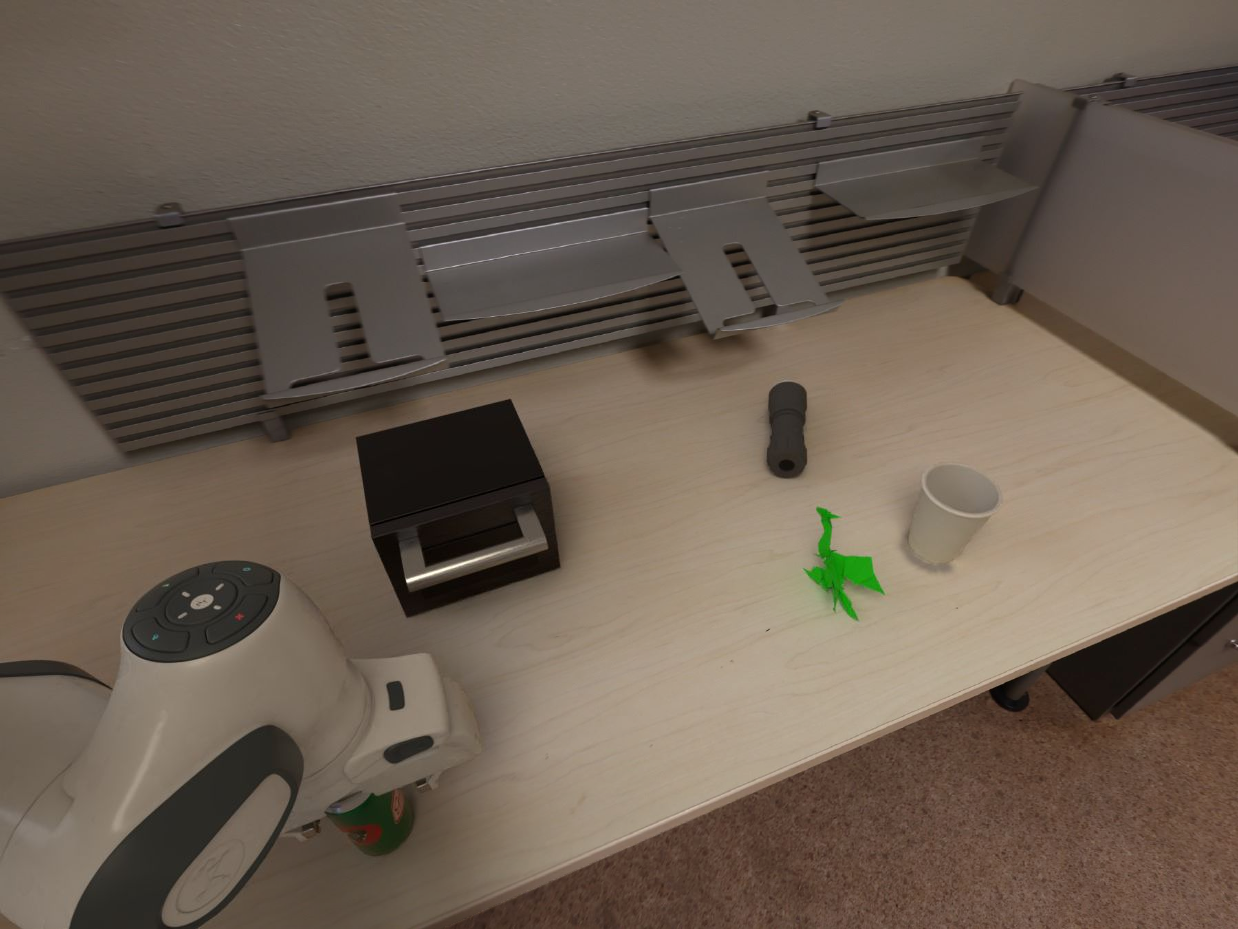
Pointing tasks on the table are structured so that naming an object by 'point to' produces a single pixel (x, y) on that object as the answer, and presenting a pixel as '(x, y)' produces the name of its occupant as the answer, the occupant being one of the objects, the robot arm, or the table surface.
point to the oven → (444, 461)
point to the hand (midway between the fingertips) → (371, 804)
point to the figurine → (841, 567)
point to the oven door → (469, 546)
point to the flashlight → (787, 428)
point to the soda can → (373, 820)
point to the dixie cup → (951, 510)
